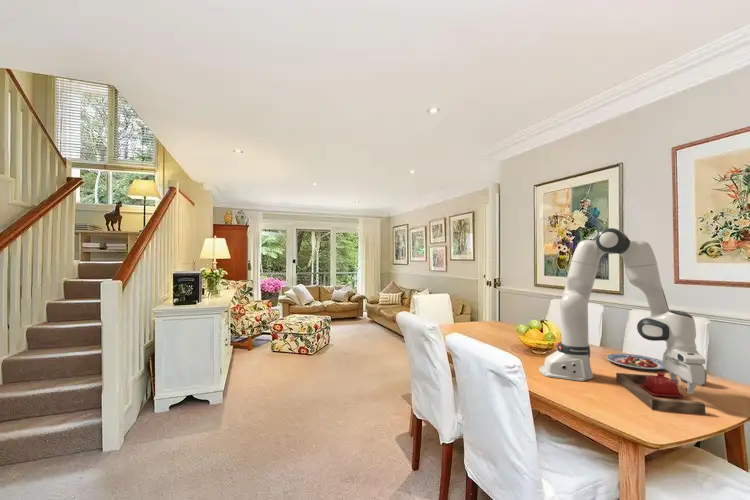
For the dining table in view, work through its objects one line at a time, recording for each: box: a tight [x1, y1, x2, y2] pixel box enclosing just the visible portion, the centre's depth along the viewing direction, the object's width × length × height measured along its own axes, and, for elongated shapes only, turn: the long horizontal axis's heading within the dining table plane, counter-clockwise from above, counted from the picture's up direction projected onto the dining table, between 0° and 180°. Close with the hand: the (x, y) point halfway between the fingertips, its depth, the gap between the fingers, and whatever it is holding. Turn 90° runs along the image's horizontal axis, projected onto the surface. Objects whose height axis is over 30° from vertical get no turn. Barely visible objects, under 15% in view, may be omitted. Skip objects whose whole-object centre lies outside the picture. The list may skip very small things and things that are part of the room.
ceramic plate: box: [605, 353, 665, 371], centre depth 177 cm, size 26×26×3 cm
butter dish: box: [639, 371, 685, 398], centre depth 140 cm, size 12×12×8 cm
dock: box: [615, 372, 706, 415], centre depth 137 cm, size 16×30×4 cm, turn 166°
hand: (682, 388), depth 135 cm, fingers open, 8 cm apart
